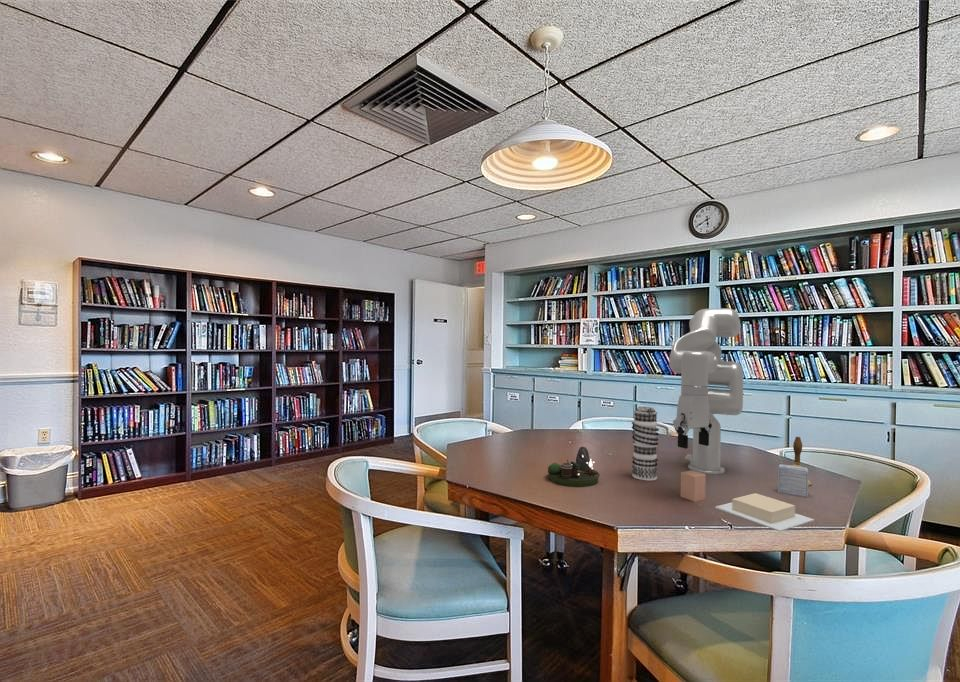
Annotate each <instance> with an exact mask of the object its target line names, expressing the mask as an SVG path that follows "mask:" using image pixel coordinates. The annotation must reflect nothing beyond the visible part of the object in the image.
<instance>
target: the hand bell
mask: <svg viewBox="0 0 960 682" xmlns="http://www.w3.org/2000/svg"><path fill="white" fill-rule="evenodd" d="M792 448H793V452H794V461H793V464H791V465H790V466H797V467H803V466H802V465H801V453H802V451H803V442H802V440H801V437H800V436H795V439H794V440H793V445H792ZM811 485H812V482H811V481H810V480H809V479H808V487H809V486H811Z"/></svg>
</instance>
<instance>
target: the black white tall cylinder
mask: <svg viewBox="0 0 960 682" xmlns="http://www.w3.org/2000/svg"><path fill="white" fill-rule="evenodd" d="M633 412H634V414H633V415H634V417H633V418H634V419H633V421H632V422H631V424H632V426H631V429H632V430H633V431H632V432H631V434H632V435H631V438H632V439H633V440H632V445H633V452H632V455H633V456H632V459H633V460H632V461H631V462H632V464H633V465H631V468H632V470H631V472H632V474H631V475H632V477H633V478H634V479H638V480H640V481H656V480H657V479H658V474H659V473H658V472H657V471H658V470H659V469H658V467H657V466H658V465H659V464H658V463H657V462H658V458H657V457H658V456H657V447H658V445H659V443H658V441H659V438H658V436H659V435H660V433H659V431H660V429H659V428H658V427H657V425H658V420H657V414H658V412H657V411H656V409H655V408H654V407H651V406H638V407H637V408H636V409H635V410H634V411H633Z"/></svg>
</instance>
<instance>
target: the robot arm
mask: <svg viewBox="0 0 960 682" xmlns="http://www.w3.org/2000/svg"><path fill="white" fill-rule="evenodd" d="M688 324H689V325H688V326H689V331H688V333H685V334H684V335H682V336H681V337H679V338H678V339H676V340H675V341H674V343H673V345H672V347H671V351H670V355H669V359H668V364H669V368H670V369H671V371H672V372H674V373H675V374H676V373H677V374H680V378H681V379H680V395H679V397H678V402H677V406H676V407H677V409H676V418H675V419H673V420H672V424H673V426H674V431H675V432H676V434H677V447H678V448H682V449H688V447H689V435H687V434H688V432H689V431H690V430H692V454H690V453H687V454H686V456H685V457H684V459H685V460H687V461H690V463H689V464H688V465H687V467H688V469H689V471H691V470H692V471H695V472H699V473H702V474H705V475H706V474H707V475H722V474H725V472H726V470H725V468H724V467H723V466H721V444H722V443H721V441H722V440H721V435H722V434H721V432H722V431H721V430H722V427H721V424H720V422H719V420H718V419H717V418H716V416H715V415H723V416H739V415H740V414H742V411H743V407H744V400H743V399H744V370H743V367H742V365H741V364H740V363H739V362H737V361H730V360H729V361H725V360H724V361H723V360H722V348H721V346H720V345H719V344H718V342H717V338H734V337H737V336H738V335H739V334H740V331H741V320H740V317H739V314H738V312H737V311H736V310H734V309H733V308H728V307H727V308H726V307H724V308H721V307H720V308H702V309H699V310H698V311H696V312H695V313H694V315H693V317H691V318H690V319H689V323H688ZM709 386H716V387H717V386H719V387H728V388H729V389H721V388H720V389H719V388H709Z"/></svg>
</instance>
